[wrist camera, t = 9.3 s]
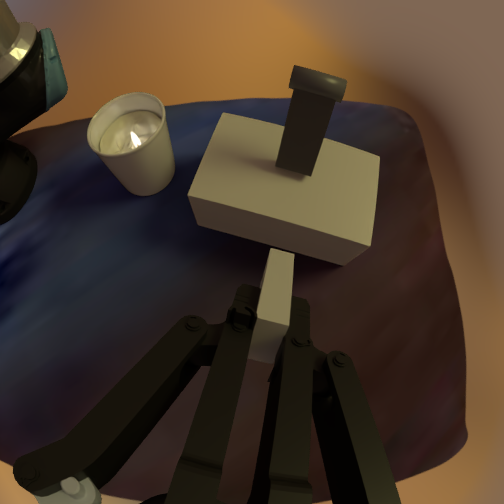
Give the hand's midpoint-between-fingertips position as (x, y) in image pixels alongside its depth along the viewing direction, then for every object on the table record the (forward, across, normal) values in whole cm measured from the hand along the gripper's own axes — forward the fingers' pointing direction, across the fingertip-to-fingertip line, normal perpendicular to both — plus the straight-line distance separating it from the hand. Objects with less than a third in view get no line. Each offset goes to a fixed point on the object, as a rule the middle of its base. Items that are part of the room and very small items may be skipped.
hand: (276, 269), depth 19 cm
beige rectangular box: (+23, 0, -4) cm, 24 cm away
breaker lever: (+17, 0, +3) cm, 17 cm away
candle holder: (+24, -20, -4) cm, 31 cm away
